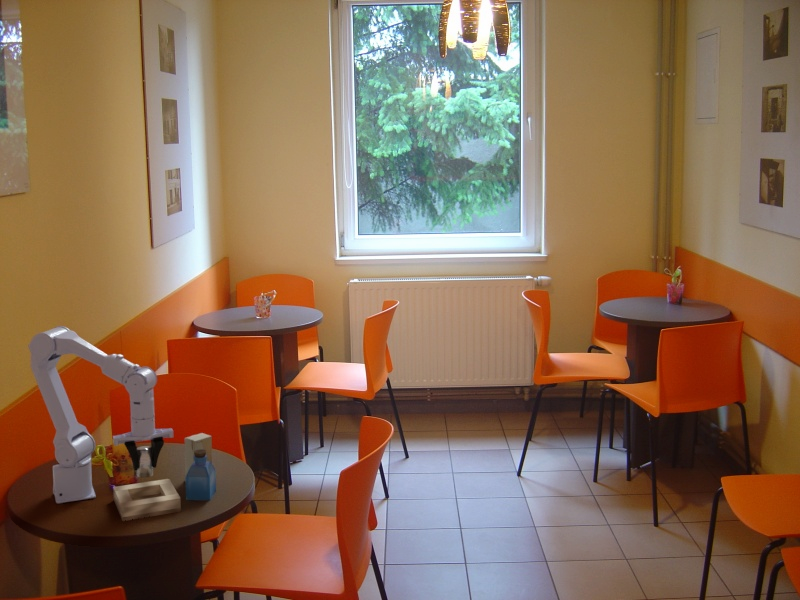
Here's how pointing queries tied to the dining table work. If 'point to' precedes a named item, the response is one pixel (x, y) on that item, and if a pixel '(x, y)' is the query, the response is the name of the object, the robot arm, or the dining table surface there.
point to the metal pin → (144, 462)
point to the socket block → (146, 499)
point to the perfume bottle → (200, 478)
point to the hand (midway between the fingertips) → (144, 467)
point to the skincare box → (197, 448)
